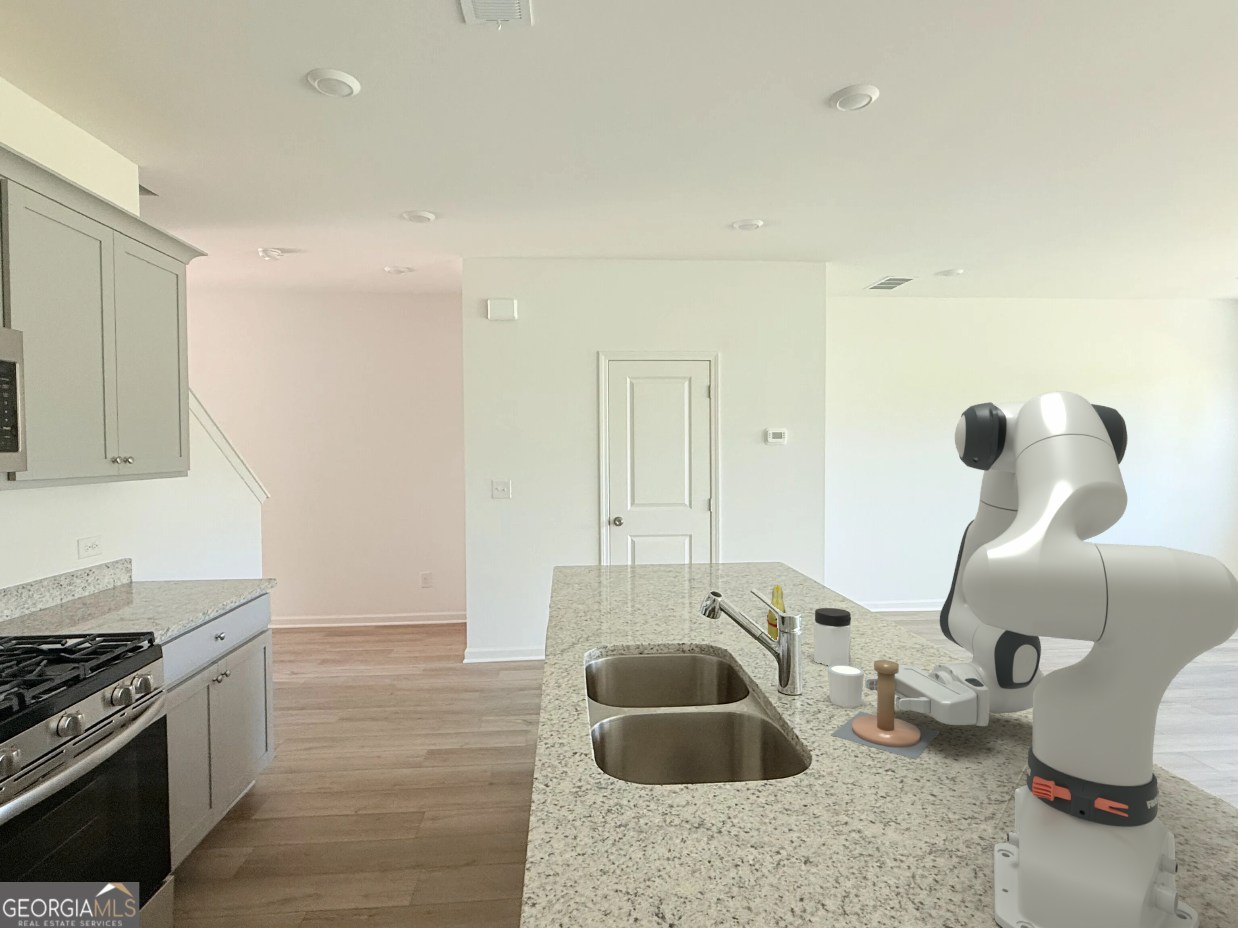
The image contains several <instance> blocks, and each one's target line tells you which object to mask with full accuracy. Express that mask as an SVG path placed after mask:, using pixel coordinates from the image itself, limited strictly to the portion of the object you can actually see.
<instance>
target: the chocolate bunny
mask: <svg viewBox="0 0 1238 928" xmlns="http://www.w3.org/2000/svg"><path fill="white" fill-rule="evenodd" d="M771 604H772V605H773V606H774V607H776V608H777V609H779V610H780V611H782V612H783V613H786V614H787V610H786V606H785V603H784V591H783V588H782V586H780V585H779V584H776V585H775V586H774V587H773V589H772V591H771V602H770V605H771ZM766 621H767V633H768V634H769V635H770V636H771V638H773V639H774V640H777V637H778V628H777V618H776V616H775V614H774V613H773V612H772V611H771V610H770V609H768V613H767V616H766ZM768 634H767V635H768Z"/></svg>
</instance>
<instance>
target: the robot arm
mask: <svg viewBox="0 0 1238 928" xmlns="http://www.w3.org/2000/svg"><path fill="white" fill-rule="evenodd" d="M1128 439H1129V437H1128V431H1127V424H1126V421H1125V419H1124V417H1123V415H1121V413H1120V412H1119V411H1118V410H1117V409H1115V408H1113V407H1109V406H1105V405H1102V404H1095V403H1091V402H1089V400H1088V399H1086V398H1085V397H1083V396H1081V395H1079V394H1077V393H1074V392H1070V391H1062V390H1060V391H1059V390H1057V391H1056V390H1055V391H1049V392H1044V393H1041V394H1038V395H1036V396H1034V397H1032V398H1031V399H1029V400H1027V401H1011V402H1001V403H993V402H989V401H988V402H984V403H983V402H982V403H977V404H973V405H970V406H969V407H968V408H967V409H965V410H963V412H962V413H961V416H960V419H959V420H958V423H957V425H956V427H955V432H954V443H955V449H956V451H957V453H958V455H959V459H960V461H961V462H962V463H963V464H965V466H966V467H968V468H972V469H975V470H980V471H983V476H982V480H981V486H980V492H979V502H978V508H977V512H976V514H975V518H973V519H972V520H971V521H970V522H969V523H968V524H967V526H966V527H965V529H964V533H963V535H962V538H961V541H960V546H959V550H958V552H957V553H958V554H957V557H956V558H957V559H956V562H955V567H954V570H953V571H954V572H953V576H952V582H951V584H950V589H949V591H948V595H947V596H946V599H945V601H944V603H943V605H942V608H941V610H940V614H939V626H940V630H941V632H942V634H943V636H945V638H946V639H948V640H949V641H951V642H952V643H954V644H956V645H958V646H959V647H961V648H963V649H964V650H966V651H967V652H968V653H970V654H971V655H972V660H971V661H969V662H960V663H955V662H954V663H940V664H937V665H935V666H934V667H933V669H932V671H931V672H930V673H929V672H928V671H925V670H923V669H921V668H920V667H918V666H915V665H912V664H911V665H910V664H899V673H897V674H895V696H897V697H895V708H898V709H899V710H900V711H902V712H903V711H912V712H917V713H923V714H927V715H928V716H930V717H932V718H933V719H934V720H936V721H938V722H939V723H942V724H946V725H949V726H950V725H951V726H971V725H972V726H973V725H975V726H976V727H987V726H989V720H990V713H991V714H993V715H998V714H999V715H1000V714H1012V713H1019V712H1020V713H1021V712H1023V711H1027V710H1030V709H1032V737H1031V739H1032V740H1031V741H1032V745H1031V746H1030V747H1029V748H1028V752H1027V758H1026V764H1025V765H1026V766H1025V771H1026V783H1025V785H1023V786H1021V787H1019V788H1016V789H1015V791H1014V793H1015V794H1014V831H1008V833H1006V835H1007V837H1006V838H1007V840H1006V842H998V843H996V844H994V847H993V854H992V855H993V857H992V858H993V859H992V860H993V901H994V902H993V905H994V906H993V907H994V909H993V911H994V912H993V913H994V920H995V922H996V923H997V924H998V925H999V926H1000V927H1002V928H1200V923H1201V922H1200V917H1199V916H1200V915H1199V913H1198V911H1196V910H1195V909H1194V908H1193V907H1192V906H1190V905H1188V904H1187V903H1186V902H1184V901H1183V900H1181V899H1179V891H1178V890H1177V889H1176V876H1177V874H1178V869H1179V862H1178V860H1176V847H1175V846H1176V842H1175V841H1176V839H1175V835H1174V834H1173V833H1172V832H1171V831H1170V830H1169V828H1167V827H1166V826H1165V825H1164V824H1163V823H1162V821H1161V820H1160V819H1159V817H1158V816H1157V815H1158V812H1159V806H1158V805H1159V800H1160V792H1159V787H1158V777H1157V776H1156V775H1155V773H1154V772H1153V770H1154V769H1153V767H1154V766H1153V765H1154V764H1153V763H1154V743H1155V734H1156V733H1155V732H1156V731H1155V730H1156V725H1157V724H1156V723H1157V716H1158V712H1159V707H1160V705H1161V702H1162V699H1163V697H1164V694H1165V693H1166V691H1167V689H1168V688H1169V686H1170V684H1171V683H1172V681H1173V680H1174V679H1175V678H1176V677H1177V675H1178V674H1179V673H1180V672H1181V671H1182V670H1183V669H1184V668H1185V667H1186V666H1187V665H1188V664H1189V663H1191V662H1192V661H1194V660H1195V659H1196V658H1198V657H1199V656H1201V655H1202V654H1204V653H1206V652H1208V651H1209V650H1212V649H1213V648H1215V647H1217V646H1220V645H1222V644H1224V643H1225V642H1226V641H1228V640H1229V639H1230V638H1232V636H1233V635H1234V634H1235V633H1236V632H1237V630H1238V579H1237V578H1236V577H1235V575H1234V574H1233V573H1232V571H1231V570H1230V569H1229V568H1228V567H1227V566H1226V565H1225V564H1224V563H1222V562H1221V560H1219V559H1218V558H1216V557H1213V556H1209V555H1204V554H1200V553H1196V552H1192V551H1188V550H1183V549H1177V548H1171V547H1167V546H1161V545H1160V546H1157V545H1139V544H1138V545H1137V544H1118V543H1117V544H1116V543H1096V542H1095V543H1093V542H1089V541H1085V540H1089V539H1091V538H1095V537H1097V536H1098V535H1100V534H1102V533H1105V532H1106V531H1107V530H1109V529H1110V528H1111V527H1113V526H1114V525H1115V524H1117V523H1118V522H1120V521H1119V520H1121V519H1122V517H1123V515H1124V514H1125V512H1126V509H1127V506H1128V493H1127V491H1126V490H1127V489H1126V487H1125V482H1124V479H1123V475H1122V472H1121V469H1120V465H1121V462H1122V461H1123V459H1124V457H1125V454H1126V450H1127V447H1128V441H1129V440H1128ZM1040 637H1042V638H1051V639H1064V640H1075V641H1086V642H1093V645H1092V647H1091V649H1090V651H1089V652H1088V653H1087V655H1085V656H1084V657H1083V658H1081V659H1080V660H1079V661H1077V662H1075V663H1073V664H1071V665H1070V664H1069V665H1068V666H1064V667H1061V668H1058V669H1055V670H1053V671H1051V672H1049V673H1048V674H1046V675H1044V673H1043V671H1042V670H1041V668H1040V662H1041V655H1042V646H1041V645H1042V643H1041V639H1040ZM877 680H878V672H877V671H876V676H874V677H867V678H865V681H864V682H865V684H864V685H865V688H866V689H868V690H869V691H877Z"/></svg>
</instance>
